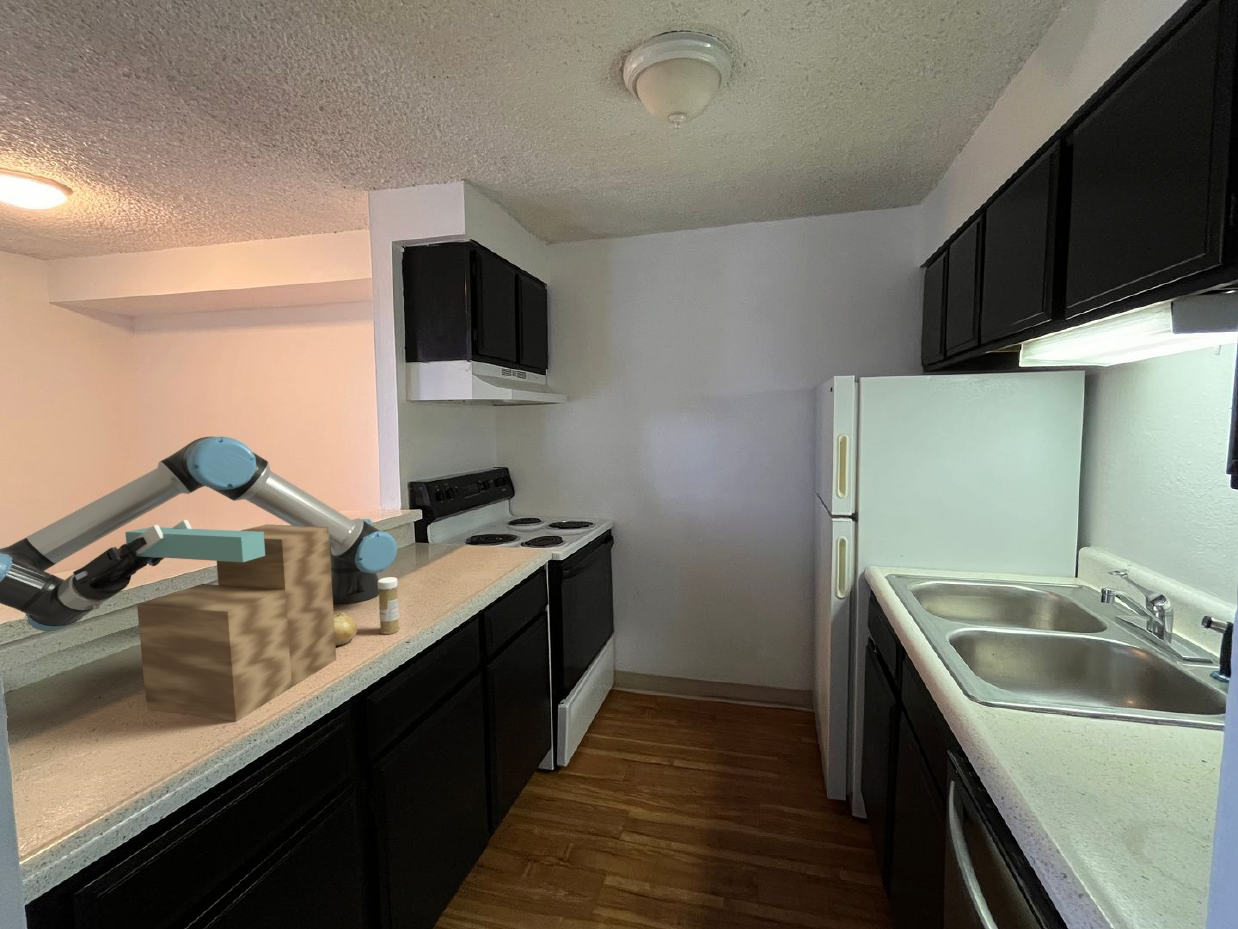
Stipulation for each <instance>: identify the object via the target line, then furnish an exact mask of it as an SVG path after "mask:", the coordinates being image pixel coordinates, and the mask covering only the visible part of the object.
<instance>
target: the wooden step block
mask: <svg viewBox="0 0 1238 929" xmlns="http://www.w3.org/2000/svg"><path fill="white" fill-rule="evenodd" d="M240 531H256V532H264V545H265V556H263V557H259V558H256V559H252V560H249V561H246V562H229V561H216V571H217V582H218V583H217V584H209V583H201V584H198V585H194V586H191V587H189V588H186V589H185V588H184V589H181V590H180V591H175V592H173V593H169V594H167V595H164V596H160V597H156V598H154V599H149V600H147V601H144V602H141V603H137V604H136V608H137V618H138V620H137V621H138V628H139V629H138V630H139V631H138V632H139V640H140V651H141V661H142V674H143V681H144V682H143V683H144V694H145V704H146V710H147V711H155V712H162V713H170V714H176V715H177V714H179V715H186V716H193V717H200V718H207V719H208V718H209V719H215V720H223V721H230V722H238V721H239V720H241V719H242V718H244V717H247V715H249V714H251V713H252V712H254V711H255V710H258V708H259V709H260V708H261V707H263V706H264V705H265V704H267V703H268V702H270V701H272V700H274V699H275V698H277V697H279V696H280V695H282V694H283V693H285V692H286V691H288V690H289V689H291V688H293V687H295V686H296V685H298V684H300V683H301V682H302V681H304V680H306V679H307V678H309V677H310V676H312V675H314V674H315V673H317V672H319V671H320V670H322V669H323V668H326V667H327V666H328V665H331V663H333V662H335V661H337V651H336V650H337V649H336V647H337V646H335V630H334V617H335V615H334V614H335V613H334V603H333V596H332V580H331V562H330V546H329V529H328V527H320V526H293V525H290V524H289V525H288V524H287V525H286V524H263V525H258V526H254V527H249V528H246V529H241V530H240Z"/></svg>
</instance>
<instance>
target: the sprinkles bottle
mask: <svg viewBox="0 0 1238 929" xmlns="http://www.w3.org/2000/svg"><path fill="white" fill-rule="evenodd" d="M398 584H399V583H398V578H397V577H394V576H393V577H392V576H390V577H389V576H387V577H382V578H380V579H379V580H378V590H379V595H378V599H379V600H378V607H379V608H378V609H379V623H380V624H379V626H380V629H379V632H380V634H382V635H392V634H395V633H397V632H398V631H399V630H400V626H399V624H400V623H399V597H398Z"/></svg>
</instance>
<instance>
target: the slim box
mask: <svg viewBox="0 0 1238 929" xmlns="http://www.w3.org/2000/svg"><path fill="white" fill-rule="evenodd" d="M151 527H152V526H150V527H145V528H139V529H136V530H135V529H134V530H129V531H125V532H124V533H125V544H126V543H131V541H133V540H134V539H135V538H137V537H138V536H140V535H141V534H142V533H144V532H145V531H147V530H148V529H149V528H151ZM159 527H160V529H161V531H162V533H163V535H164V537H165V538H164V539H162V540H161V541H159V542H158V543H156V544H155V545H154V546H152V547H151V548H149V549H148V550H146V551H145V552H144V553H142V554H137V553H136V552H135V554H136V556H142V557H159V558H164V559H179V560H182V559H183V560H193V561H194V560H195V561H211V562H212V561H213V562H215V561H216V562H217V561H229V562H246V561H249V560H252V559H256V558H259V557H263V556H265V545H264V532H256V531H241V530H232V529H230V530H228V529H206V528H205V529H204V528H203V529H202V528H192V529H185V528H173V527H161V526H159Z"/></svg>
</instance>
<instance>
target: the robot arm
mask: <svg viewBox="0 0 1238 929" xmlns="http://www.w3.org/2000/svg"><path fill="white" fill-rule="evenodd" d="M204 487H207V488H209V489H211V490H213V491H215V492H216V493H218V494H221V496H224V497H226V498H228V499H230V500H231V501H233V502H235V501H242V500H245V501H247V502H249V503H251V504H253V505H255V506H256V507H258V508H260V509H261V510H263V511H265V512H266V513H269V514H270V515H272V516H274V517H276V518H278V519H279V520H282V521H283V522H285V523H286V524H289V525H293V526H320V527H328V529H329V546H330V563H331V580H332V596H333V604H341V605H343V604H354V603H359V602H364V601H367V600H371V599H373V598H376V597H377V596H378V597H379V590H378V580H380V579H379V576H378V574H379V573H382V572H384V571H386V570H387V569H388V568H389V567H390V566H391V565H392V564H393V563H394V561H395V559H396V557H397V554H398V547H397V542H396V540H395V538H394V537H393V536H392V535H391V534H390V533H388V532H386V531H382V530H380V529H378V528H376V527H375V526H373V525H374V524H373V523H372V520H371V519H370V518H364V519H363V518H354V519H351V518H350V517H347V516H346V515H344V514H343V513H341V512H339V511H337V510H336V509H334V508H333V507H331V506H330V505H327V504H326V503H325V502H322V501H321V500H319V499H318V498H316V497H315V496H313V495H311V494H309V493H308V492H307V491H305V490H303V489H301V488H299V487H298V486H296V484H293V483H292V482H290V481H289V480H286V479H285V478H283V477H282V476H280V475H278V474H277V473H275V472H274V471H271V468H270V461H269V460H266V459H265V458H263V457H261V456H260V455H258V454H257V453H255V452H253V451H252V450H251V448H250V447H248V445H246V444H245V443H244V442H242V441H240V440H238V439H236V438H232V437H227V436H204V437H200V438H197V439H194V440H193V441H191V442H190V443H188V444H186V445H185V446H183V447H182V448H180V449H179V450H177V451H176V452H174V453H173V454H171V455H169V456H167V457H166V458H164V459H162V460H160V461H158V464H157V467H156V468H155V469H153V470H150V471H149V472H147V473H145V474H144V475H142V476H139V477H138V478H136V479H133V480H132V481H130V482H128V483H126V484H124V485H123V486H121V487H119V488H117V489H114V490H113V491H111V492H109V493H108V494H105V495H103V496H102V497H100V498H98V499H96V500H94V501H91V502H90V503H89V504H87V505H85V506H83V507H81V508H79V509H77V510H75V511H74V512H71V513H69V514H67V515H66V516H64V517H61V518H60V519H58V520H56V521H54V522H52V523H50V524H48V525H47V526H45V527H42V528H40V529H39V530H37V531H35V532H33V533H32V534H30V535H28V536H26V537H24V538H23V539H20V540H18V541H16V542H13V543H12V544H11V545H9V546H5V547H1V548H0V604H1V605H4V606H6V607H9V608H11V609H14V610H17V611H20V612H21V613H24V614H25V617H26V616H27V617H28V620H26V622H27V623H28V624H29V626H31V627H32V629H33V628H34V629H35V630H38V631H42V632H57V631H59V630H62V629H65V628H67V627H69V626H70V625H72V624H75V623H77V622H79V621H80V620H82V619H83V618H84V617H85V616H86V615H88V614H89V613H90V612H92V611H93V610H98V609H100V607H101V605H102V604H103V603H105V602H106V601H108V600H109V599H111V598H113V597H114V596H116V595H117V594H119V593H120V592H122V591H123V590H124V589H126V588H127V587H128V585H129V584H130V582H131V578H132V576H134V575H135V574H136V573H137V571H139V570H141V569H142V568H145V567H146V566H147V565H148V566H151V567H156V566H157V565H159V564H160V562H162V561H163V560H164V559H165V558H159V557H142V556H136V554H135V552H136V553H137V554H142V553H144V552H145V551H146V550H148V549H149V548H151V547H152V546H154V545H155V544H156V543H158V542H159V541H161V540H162V539H164V538H165V537H164V535H163V533H162V531H161V529H160V527H161V526H160V525H159V524H155V525H152V526H150V527H151V528H149V527H148V528H149V529H148V530H147V531H145V532H144V533H142V534H141V535H140V536H138V537H137V538H135V539H134V540H133V541H131V543H126V542H125V543H123V544H121V546H119V548H117V547H116V546H114V547H113V546H112V547H110V548H108V549H106V550H105V551H104V552H102V553H101V554H99V555H98V556H97V557H95V558H94V559H92V560H91V561H89V562H88V563H86V565H84V566H82V567H80V568H78V569H76V570H75V571H73V572H72V574H70V576H69V577H67V578H65V579H63V578H61V577H59V576H57V575H54V574H51V573H48V572H46V571H47V570H48V569H51V568H52V567H53V566H55V565H57V564H59V563H60V562H61V561H63V560H65V559H67V558H69V557H70V556H72V555H73V554H74V555H75V554H76V553H77V552H79V551H81V550H83V549H85V548H87V547H88V546H91V544H93V543H96V542H97V541H100V539H102V538H104V537H106V536H108V535H110V534H112V533H113V532H115V531H117V530H118V529H121V528H122V527H124V526H126V525H127V524H130V523H131V522H133V521H135V520H136V519H138V518H141V517H142V516H143V515H145V514H147V513H149V512H151V511H152V510H155V509H156V508H158V507H160V506H161V505H164V504H165V503H166V502H169V501H171V500H172V499H174V498H175V497H178V496H179V495H180V494H184V495H185V494H187V495H189V494H191V493H194V492H195V491H197V490H198V489H201V488H204ZM172 528H185V529H193V528H192V526H191V523H190V522H189V521H188V519H184V520H181V521H180V522H178V523H177V524H176V525H174V526H173V527H172Z"/></svg>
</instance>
